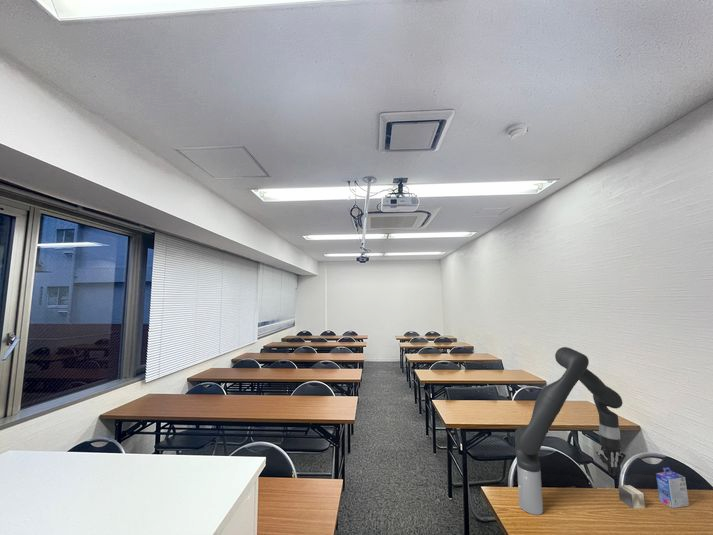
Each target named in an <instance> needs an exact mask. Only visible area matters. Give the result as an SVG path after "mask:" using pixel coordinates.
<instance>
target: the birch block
mask: <svg viewBox="0 0 713 535" xmlns="http://www.w3.org/2000/svg"><path fill="white" fill-rule="evenodd" d="M617 487H618V488H617V489H618V495H619V496H618V497H619V500H620V501H621V502H622V501H623V504H625V505H627V506H628V507H629V506H630V507H629V508H631V509H633V510H634V509H646V505H645V496H644V495H645V494H644V493H643V492H641V491H640V490H639V489H637V488H635V487H634V486H632V485H630V484H627V485H618V486H617Z"/></svg>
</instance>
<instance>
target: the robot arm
mask: <svg viewBox="0 0 713 535" xmlns="http://www.w3.org/2000/svg"><path fill="white" fill-rule="evenodd" d="M554 358H555V362H557V364H558V365H559V366H560V367H562V368H564V369H565V371H564V373H563V374H562V376H561V377H560V378H558V379H557V380H556V381H554V382H551V383H549V384H547V385H545V386H544V387H543V388H542V389H541V391H540V392H539V394H538V395H537V397H536V400H535V402H534V406H533V409H532V414H531V417H530V421H529V422H528V424H527V426H519V427H517V428H516V429H515V431H514V436H513V437H514V448H515V450H514V451H515V457H516V458H515V459H516V468H517V469H516V470H517V485H518V486H517V488H518V491H517V492H518V503H519V504H518V506H519V509H520V510H523V511H525V512H526V513H528V514H531V515H534V516H535V515H536V516H539V515H542V514H543V513H544V505H543V489H542V488H543V487H542V472H541V470H542V469H541V462H540V458H539V452H540V450H541V448H542V445H543V443H544V441H545V438H546V435H547V433H548V432H549V429H550V428H551V426H552V425H553V423H554V422H555V419H556V418H557V416H558V414H559V413H560V411H561V409H562V408H563V406H564V404H565V402H566V401H567V399H568V397H569V395H570V393H571V392H572V390H573V388H575V386H576V384H578V381H579V382H580V383H581V384H582V385H583V386H584V387H585V389H587V391H589V392H590V393H591V394H592V399H593V402H594V405H595V408H596V410H597V414H598V421H599V422H598V423H599V425H598V431H599V432H598V434H599V435H598V436H599V443H600V445H601V447H600V451H596V452H595V453H596V456H597V457H598V458H599V460H601V462H602V463H603V464H604V465H607V473H608V474H610V475H611V476H616V475H617V467H618V466H621V465H622V463H623V461H624V460H625V458H626V453H624V452H622V451H621V449H622V444H621V443H622V442H621V440H622V439H621V431H620V423H619V415H618V414H617V413H616V412H614V411H612V410H611V409H609V408H612V409H616V410H617V409H619V408H621V407H622V406H623V399H622V397H621V395H620V394H619V393H618V392H616V390H613V388H611V387H609V386H607V385H606V384H605V383H604V382H603V381H602V380H601V379H600V378H599V377H598V376H597V375H596V374H595V373H593V372H592V371H590V370H589V369H588V368H589V357H588V356H587V355H586V354H583V353H582V352H580V351H578V350H575V349H573V348H570V347H568V346H564V347H559V348H558V349H557V350H556V352H555V355H554Z"/></svg>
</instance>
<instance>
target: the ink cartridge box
mask: <svg viewBox="0 0 713 535" xmlns="http://www.w3.org/2000/svg"><path fill="white" fill-rule="evenodd" d="M662 470H663V471H662V472H656V473H655V476H656V478H655V479H656V483H657V490H658V498H659V502H661V503H662V504H664V505H666V506H668V507H669V508H671V509H675V508H676V509H677V508H682V507H688V506H690V502H689V497H688V496H689V495H688V489H687V482H686V477H685V476H684V475H682V474H680V473H677V472H675V471H673V470H671V468H670V467H669V466H668V467H662ZM667 470H668V471H667Z"/></svg>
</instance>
